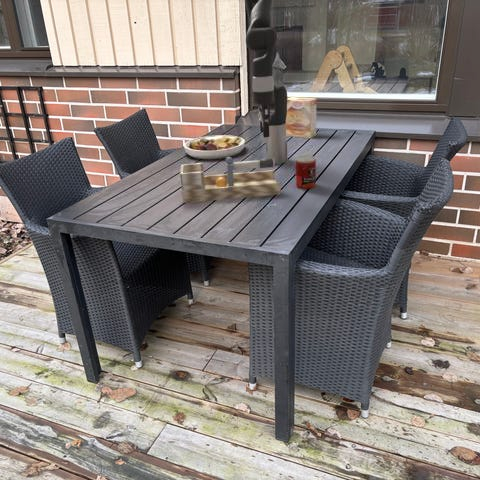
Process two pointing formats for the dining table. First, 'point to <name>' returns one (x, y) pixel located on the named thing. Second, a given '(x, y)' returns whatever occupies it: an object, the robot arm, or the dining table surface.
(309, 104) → the coffeecake box
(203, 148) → the bowl
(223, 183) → the ball
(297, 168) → the canned food
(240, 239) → the dining table surface
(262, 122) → the robot arm
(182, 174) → the game board
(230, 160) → the rod
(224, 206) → the dining table surface
